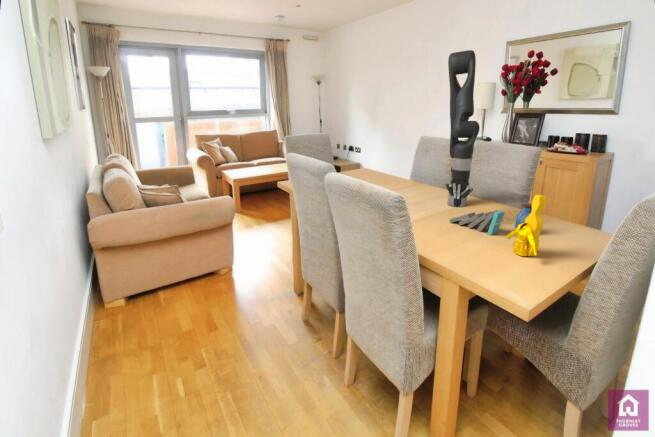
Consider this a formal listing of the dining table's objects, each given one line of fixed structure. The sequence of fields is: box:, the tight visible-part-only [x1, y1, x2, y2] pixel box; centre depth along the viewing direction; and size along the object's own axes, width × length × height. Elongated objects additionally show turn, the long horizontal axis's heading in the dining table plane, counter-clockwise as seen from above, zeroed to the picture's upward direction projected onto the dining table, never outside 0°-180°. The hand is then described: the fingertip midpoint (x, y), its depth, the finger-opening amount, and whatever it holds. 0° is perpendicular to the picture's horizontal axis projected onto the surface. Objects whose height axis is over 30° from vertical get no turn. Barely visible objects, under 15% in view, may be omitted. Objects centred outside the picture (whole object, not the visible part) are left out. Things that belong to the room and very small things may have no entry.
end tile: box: [487, 209, 506, 236], centre depth 149 cm, size 5×2×10 cm, turn 126°
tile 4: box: [476, 209, 499, 233], centre depth 151 cm, size 5×2×10 cm
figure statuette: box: [505, 194, 547, 257], centre depth 128 cm, size 18×8×22 cm, turn 6°
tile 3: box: [467, 211, 492, 229], centre depth 154 cm, size 5×2×10 cm
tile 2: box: [457, 212, 485, 226], centre depth 158 cm, size 5×2×10 cm
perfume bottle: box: [513, 203, 532, 230], centre depth 151 cm, size 6×6×12 cm
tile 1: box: [449, 212, 476, 223], centre depth 161 cm, size 5×2×10 cm
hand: (456, 206), depth 162 cm, fingers closed
